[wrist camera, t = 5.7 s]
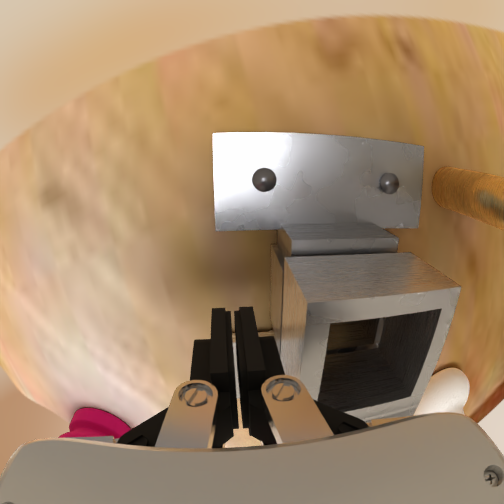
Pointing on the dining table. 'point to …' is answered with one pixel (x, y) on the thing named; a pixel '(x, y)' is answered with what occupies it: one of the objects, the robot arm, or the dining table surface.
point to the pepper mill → (95, 424)
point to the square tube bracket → (361, 308)
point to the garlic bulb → (445, 393)
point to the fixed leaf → (318, 204)
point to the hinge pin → (471, 194)
